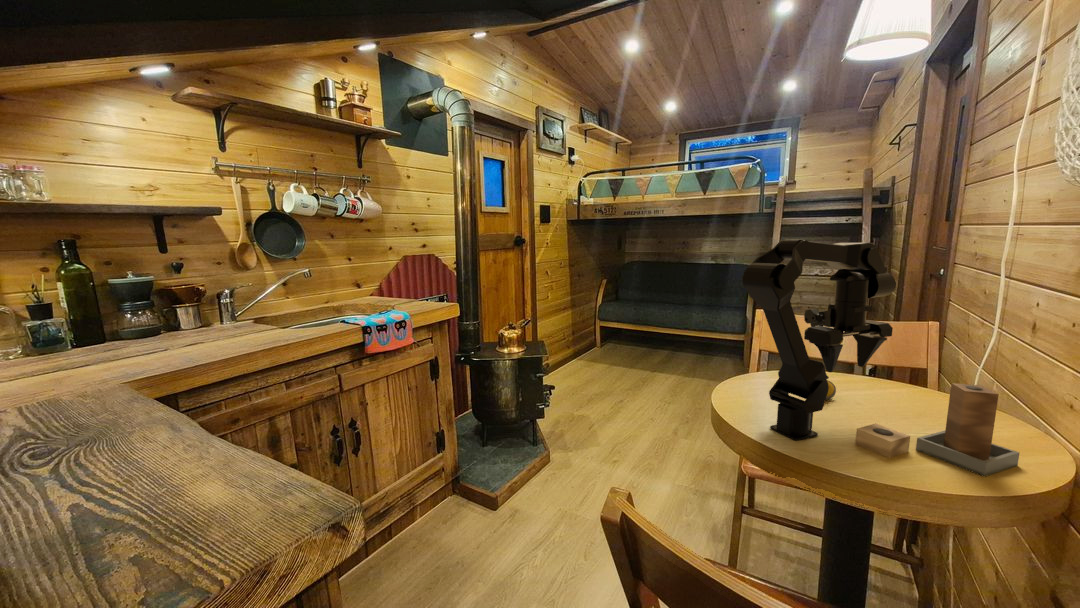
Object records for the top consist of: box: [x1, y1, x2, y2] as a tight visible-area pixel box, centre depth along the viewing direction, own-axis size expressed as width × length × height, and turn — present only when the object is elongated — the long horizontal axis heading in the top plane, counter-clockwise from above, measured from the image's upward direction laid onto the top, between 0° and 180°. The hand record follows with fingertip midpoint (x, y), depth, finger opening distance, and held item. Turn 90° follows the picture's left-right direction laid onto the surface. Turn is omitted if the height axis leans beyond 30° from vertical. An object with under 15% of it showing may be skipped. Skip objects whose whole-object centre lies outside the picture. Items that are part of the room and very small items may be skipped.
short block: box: [854, 422, 911, 459], centre depth 81 cm, size 6×6×4 cm
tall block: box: [943, 382, 999, 461], centre depth 76 cm, size 4×4×13 cm
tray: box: [915, 430, 1020, 477], centre depth 77 cm, size 10×10×2 cm
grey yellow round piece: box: [825, 379, 837, 401], centre depth 106 cm, size 5×5×10 cm
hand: (845, 369), depth 92 cm, fingers open, 9 cm apart
